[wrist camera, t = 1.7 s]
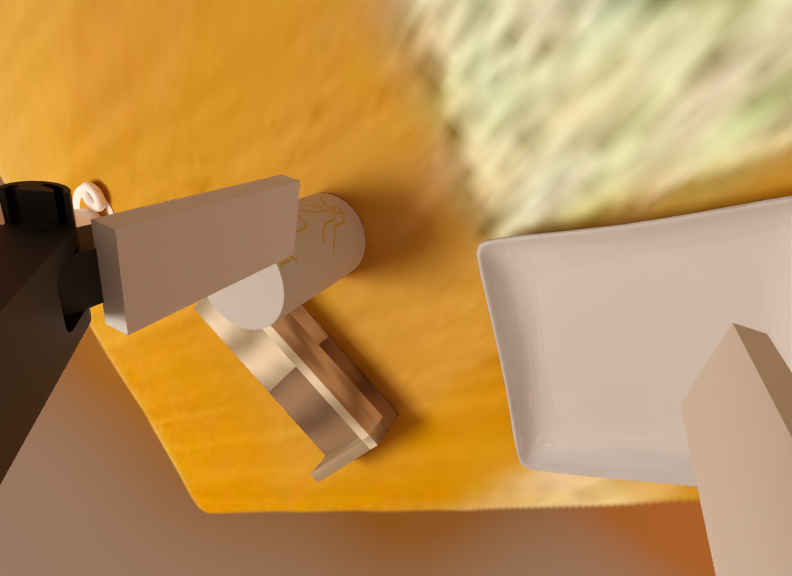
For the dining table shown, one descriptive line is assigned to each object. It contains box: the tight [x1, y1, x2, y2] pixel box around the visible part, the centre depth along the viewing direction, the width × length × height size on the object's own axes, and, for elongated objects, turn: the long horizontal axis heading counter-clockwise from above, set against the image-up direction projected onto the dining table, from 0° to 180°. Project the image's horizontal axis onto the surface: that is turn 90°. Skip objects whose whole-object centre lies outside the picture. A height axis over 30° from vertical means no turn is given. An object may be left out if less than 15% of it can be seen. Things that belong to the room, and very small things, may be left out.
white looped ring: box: [73, 182, 114, 227], centre depth 55 cm, size 9×8×4 cm
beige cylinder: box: [207, 193, 366, 330], centre depth 37 cm, size 8×8×12 cm
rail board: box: [194, 297, 399, 482], centre depth 48 cm, size 24×11×5 cm, turn 47°
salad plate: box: [477, 196, 792, 487], centre depth 33 cm, size 21×21×3 cm
